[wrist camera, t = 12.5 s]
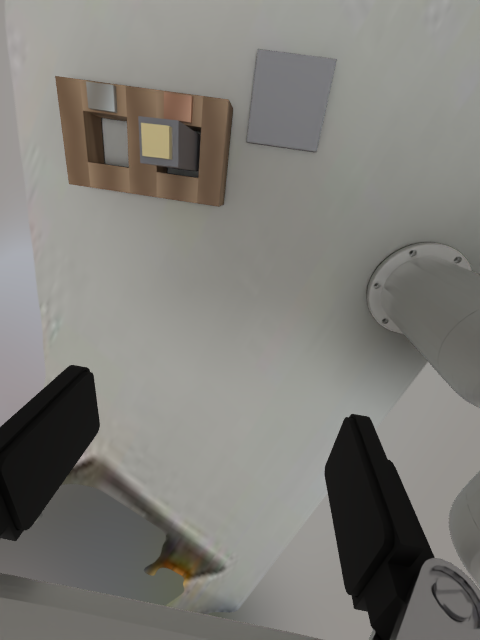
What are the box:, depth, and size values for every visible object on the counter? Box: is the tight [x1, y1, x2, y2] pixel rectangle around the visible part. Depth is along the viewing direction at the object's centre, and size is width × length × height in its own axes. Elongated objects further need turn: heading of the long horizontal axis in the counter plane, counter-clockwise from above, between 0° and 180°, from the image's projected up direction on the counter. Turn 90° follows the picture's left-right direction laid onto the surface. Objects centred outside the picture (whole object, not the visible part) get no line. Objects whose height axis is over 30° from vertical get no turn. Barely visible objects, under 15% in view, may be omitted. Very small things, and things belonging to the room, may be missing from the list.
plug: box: [138, 116, 201, 172], centre depth 29 cm, size 4×4×11 cm
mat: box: [247, 49, 337, 152], centre depth 30 cm, size 8×8×1 cm
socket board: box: [55, 76, 233, 206], centre depth 32 cm, size 18×10×4 cm, turn 83°
